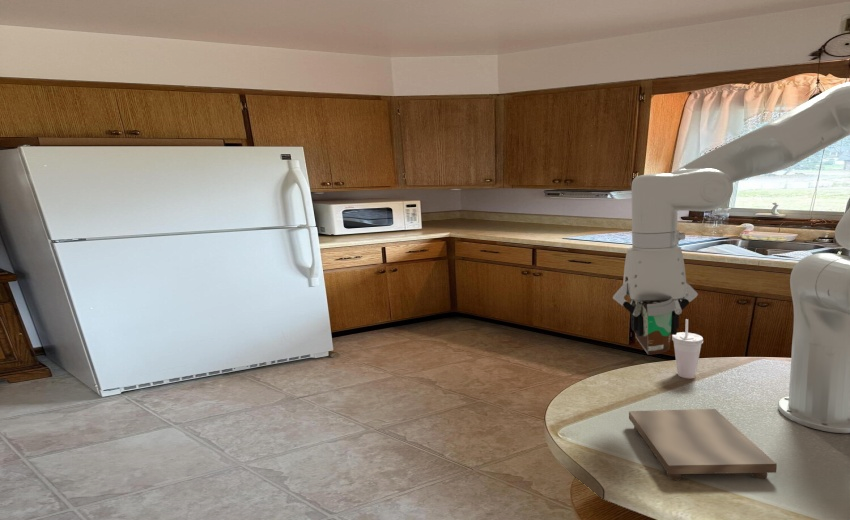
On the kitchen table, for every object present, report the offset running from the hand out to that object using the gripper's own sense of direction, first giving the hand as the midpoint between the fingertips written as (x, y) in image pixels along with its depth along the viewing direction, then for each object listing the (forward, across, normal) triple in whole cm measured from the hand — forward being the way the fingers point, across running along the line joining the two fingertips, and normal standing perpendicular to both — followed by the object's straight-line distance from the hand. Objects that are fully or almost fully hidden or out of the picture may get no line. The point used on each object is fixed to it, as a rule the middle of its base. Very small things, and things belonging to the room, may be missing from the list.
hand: (654, 332), depth 86 cm
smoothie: (+18, -14, -20) cm, 31 cm away
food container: (+3, -1, 0) cm, 3 cm away
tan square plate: (+18, -2, +11) cm, 21 cm away
